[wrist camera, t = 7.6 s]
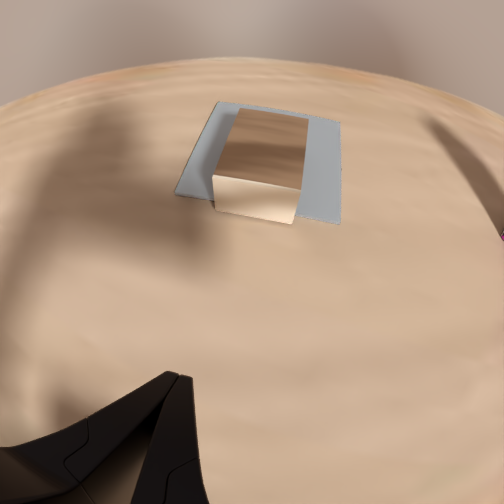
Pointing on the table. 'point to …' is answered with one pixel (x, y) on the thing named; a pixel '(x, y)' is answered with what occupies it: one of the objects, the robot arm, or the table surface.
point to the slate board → (315, 165)
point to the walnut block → (262, 166)
